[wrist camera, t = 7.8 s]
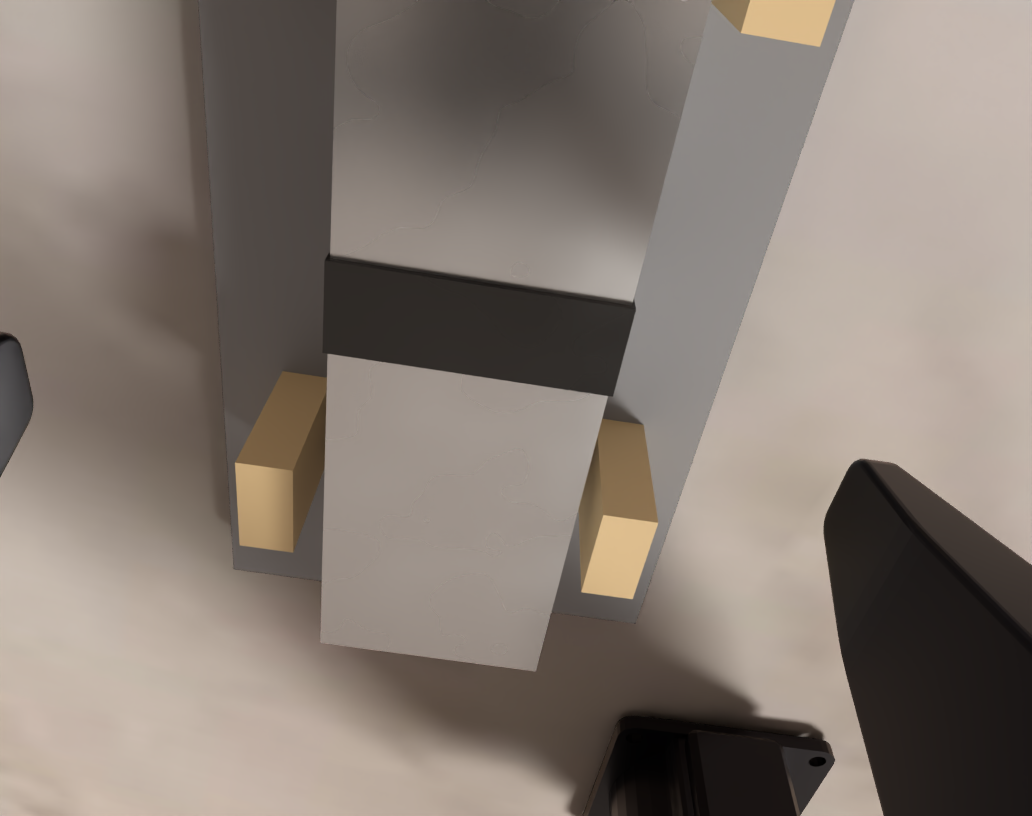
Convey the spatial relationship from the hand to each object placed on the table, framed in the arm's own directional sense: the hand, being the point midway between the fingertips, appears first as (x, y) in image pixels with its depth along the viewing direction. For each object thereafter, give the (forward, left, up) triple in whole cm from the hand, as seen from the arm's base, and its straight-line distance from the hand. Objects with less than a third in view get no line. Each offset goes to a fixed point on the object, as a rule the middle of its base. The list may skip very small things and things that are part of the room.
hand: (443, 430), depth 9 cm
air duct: (0, 0, -7) cm, 7 cm away
